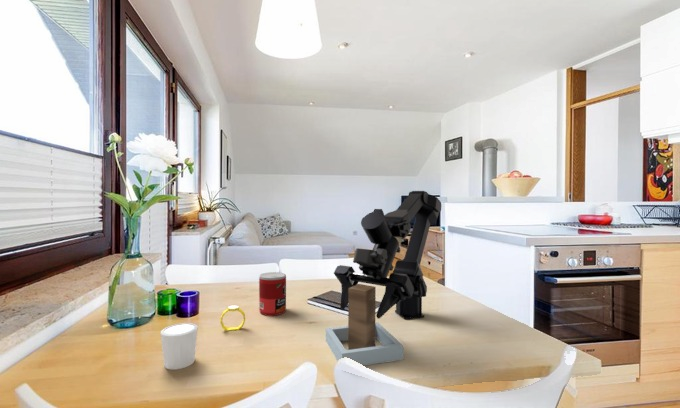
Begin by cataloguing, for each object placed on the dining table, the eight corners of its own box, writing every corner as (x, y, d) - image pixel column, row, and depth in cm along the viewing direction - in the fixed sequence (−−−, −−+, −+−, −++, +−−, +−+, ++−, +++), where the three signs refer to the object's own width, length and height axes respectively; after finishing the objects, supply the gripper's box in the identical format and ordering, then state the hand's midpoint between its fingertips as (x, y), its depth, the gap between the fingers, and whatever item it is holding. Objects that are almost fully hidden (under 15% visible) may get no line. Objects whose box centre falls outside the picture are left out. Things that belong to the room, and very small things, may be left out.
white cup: (169, 355, 71) (169, 322, 70) (202, 354, 71) (202, 321, 71) (154, 372, 64) (154, 336, 64) (190, 370, 64) (190, 335, 64)
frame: (378, 334, 82) (378, 322, 82) (403, 359, 69) (403, 345, 69) (325, 340, 78) (325, 328, 78) (342, 368, 65) (342, 353, 65)
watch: (244, 327, 87) (246, 305, 87) (244, 331, 84) (246, 308, 84) (220, 328, 85) (222, 305, 85) (219, 332, 82) (221, 308, 82)
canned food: (280, 316, 94) (280, 278, 94) (254, 314, 95) (254, 277, 95) (289, 308, 101) (289, 272, 101) (265, 306, 103) (265, 271, 103)
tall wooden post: (358, 343, 76) (358, 283, 76) (375, 348, 74) (375, 286, 74) (348, 351, 73) (348, 288, 72) (365, 356, 70) (365, 291, 70)
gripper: (338, 232, 82) (309, 286, 73) (409, 237, 71) (385, 301, 62) (354, 259, 88) (330, 312, 79) (421, 267, 78) (402, 329, 69)
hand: (359, 313), depth 72 cm, fingers open, 9 cm apart
